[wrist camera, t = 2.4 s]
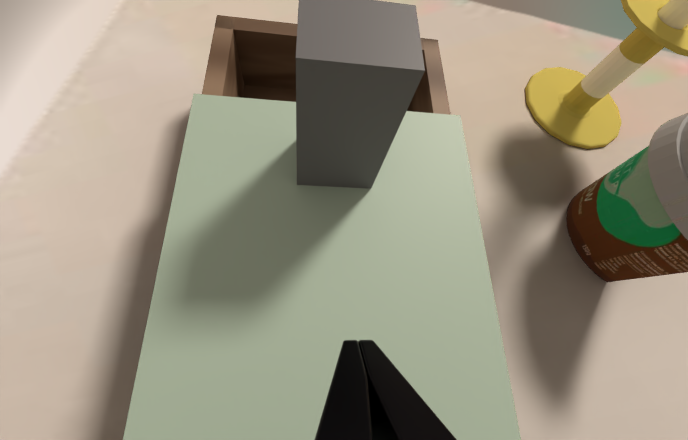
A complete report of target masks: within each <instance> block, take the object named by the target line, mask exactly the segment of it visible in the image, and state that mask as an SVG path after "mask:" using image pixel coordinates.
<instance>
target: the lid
mask: <svg viewBox="0 0 688 440" xmlns="http://www.w3.org/2000/svg"><path fill="white" fill-rule="evenodd" d="M424 72H425V67H424V60H423V53H422V46H421V40H420V33H419V26H418V19H417V12H416V5H408V4H400V3H392V2H384V1H376V0H299V8H298V26H297V43H296V102H289V101H277V100H265V99H253V98H240V97H228V96H216V95H204V94H194V95H193V100H192V105H191V110H190V115H189V120H188V124H187V129H186V134H185V139H184V144H183V149H182V154H181V159H180V163H179V168H178V173H177V178H176V183H175V188H174V193H173V198H172V202H171V207H170V212H169V217H168V222H167V227H166V232H165V237H164V241H163V246H162V251H161V256H160V261H159V266H158V271H157V276H156V280H155V285H154V290H153V295H152V300H151V305H150V310H149V315H148V319H147V324H146V329H145V334H144V339H143V344H142V349H141V354H140V358H139V363H138V368H137V373H136V378H135V383H134V388H133V392H132V397H131V402H130V407H129V412H128V417H127V422H126V427H125V431H124V436H123V440H315V436H316V433H317V429H318V426H319V422H320V419H321V416H322V412H323V409H324V405H325V402H326V399H327V395H328V392H329V388H330V385H331V381H332V378H333V375H334V371H335V368H336V364H337V361H338V357H339V354H340V351H341V347H342V344H343V341H344V340H357V341H359V340H373V341H374V342H375V343H376V344H377V345H378V347H379V348H380V349H381V350H382V351H383V352H384V354H385V355H386V356H387V357H388V358H389V360H390V361H391V362H392V363H393V364H394V366H395V367H396V368H397V369H398V370H399V371H400V373H401V374H402V375H403V376H404V377H405V379H406V380H407V381H408V382H409V383H410V385H411V386H412V387H413V388H414V389H415V391H416V392H417V393H418V394H419V395H420V396H421V398H422V399H423V400H424V401H425V402H426V404H427V405H428V406H429V407H430V408H431V410H432V411H433V412H434V413H435V414H436V416H437V417H438V418H439V419H440V420H441V421H442V423H443V424H444V425H445V426H446V427H447V429H448V430H449V431H450V432H451V433H452V435H453V436H454V437H455V438H456V439H457V440H521V437H520V432H519V427H518V421H517V416H516V411H515V405H514V400H513V394H512V389H511V384H510V378H509V373H508V368H507V362H506V357H505V352H504V346H503V341H502V336H501V330H500V325H499V320H498V314H497V309H496V304H495V298H494V293H493V287H492V282H491V277H490V271H489V266H488V261H487V255H486V250H485V245H484V239H483V234H482V229H481V223H480V218H479V213H478V207H477V202H476V197H475V191H474V186H473V180H472V175H471V170H470V164H469V159H468V154H467V148H466V143H465V138H464V132H463V127H462V122H461V116H460V115H448V114H436V113H424V112H412V111H407V109H408V107H409V105H410V102H411V100H412V98H413V96H414V94H415V91H416V89H417V87H418V85H419V83H420V80H421V78H422V76H423V74H424Z"/></svg>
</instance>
